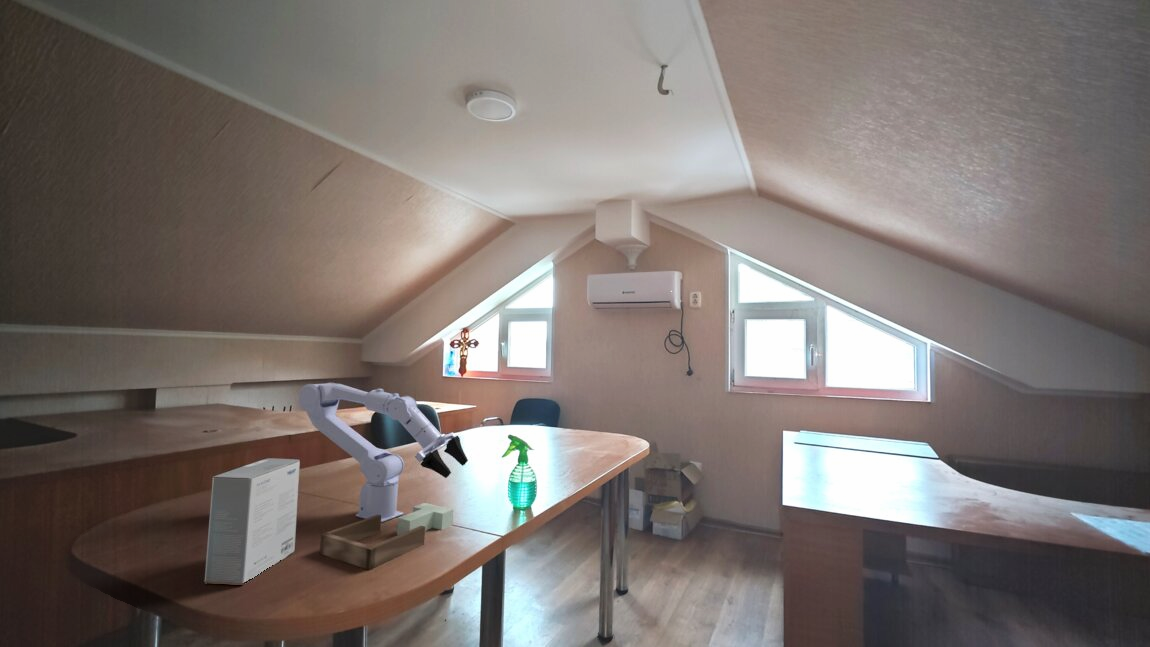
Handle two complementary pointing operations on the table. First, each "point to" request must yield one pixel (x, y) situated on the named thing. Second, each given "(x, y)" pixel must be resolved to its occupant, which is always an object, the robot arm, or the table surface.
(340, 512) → the table surface
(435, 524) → the t block
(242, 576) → the hard drive box
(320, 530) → the table surface
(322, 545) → the wooden tray
